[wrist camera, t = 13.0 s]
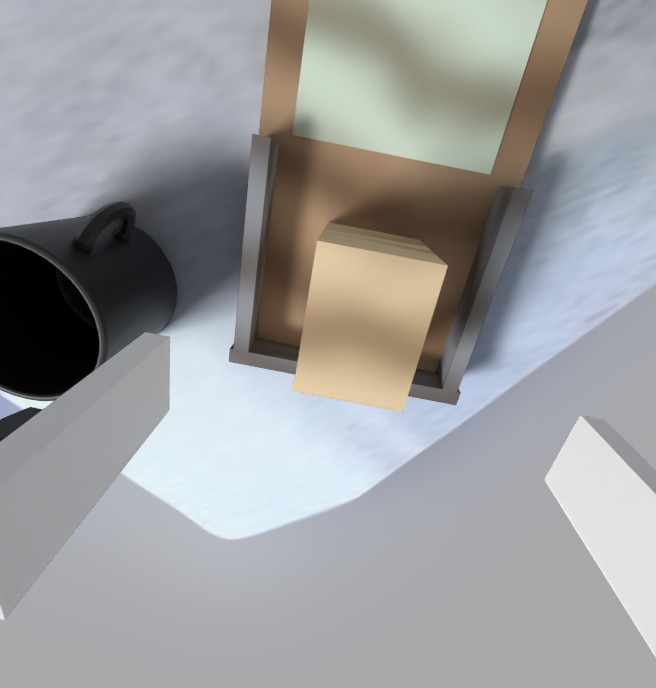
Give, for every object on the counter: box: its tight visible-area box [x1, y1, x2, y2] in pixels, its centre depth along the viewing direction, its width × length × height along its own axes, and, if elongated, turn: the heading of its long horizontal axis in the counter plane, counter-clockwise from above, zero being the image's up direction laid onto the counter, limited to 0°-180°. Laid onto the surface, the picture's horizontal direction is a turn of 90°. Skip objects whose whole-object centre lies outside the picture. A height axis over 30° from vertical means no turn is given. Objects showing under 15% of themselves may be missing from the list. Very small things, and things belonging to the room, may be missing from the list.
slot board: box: [229, 0, 588, 405], centre depth 23 cm, size 24×16×4 cm, turn 170°
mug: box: [0, 202, 176, 401], centre depth 23 cm, size 9×12×9 cm
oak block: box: [293, 222, 448, 412], centre depth 22 cm, size 8×6×8 cm
